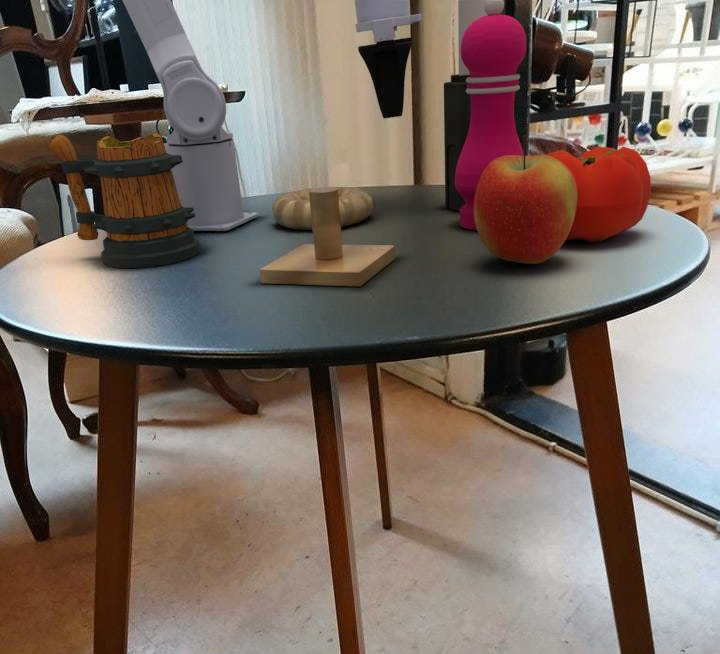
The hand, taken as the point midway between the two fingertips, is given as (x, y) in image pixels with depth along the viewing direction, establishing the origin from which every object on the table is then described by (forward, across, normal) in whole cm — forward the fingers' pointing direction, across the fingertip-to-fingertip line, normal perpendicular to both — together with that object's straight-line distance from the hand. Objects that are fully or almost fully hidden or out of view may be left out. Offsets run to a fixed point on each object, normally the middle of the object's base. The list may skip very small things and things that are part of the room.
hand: (393, 113), depth 87 cm
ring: (+8, -8, +9) cm, 14 cm away
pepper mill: (+10, -14, -9) cm, 20 cm away
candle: (+10, -4, -8) cm, 14 cm away
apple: (+10, -30, -10) cm, 34 cm away
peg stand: (+9, -29, +6) cm, 31 cm away
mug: (+8, -19, +26) cm, 34 cm away
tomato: (+11, -22, -17) cm, 30 cm away
